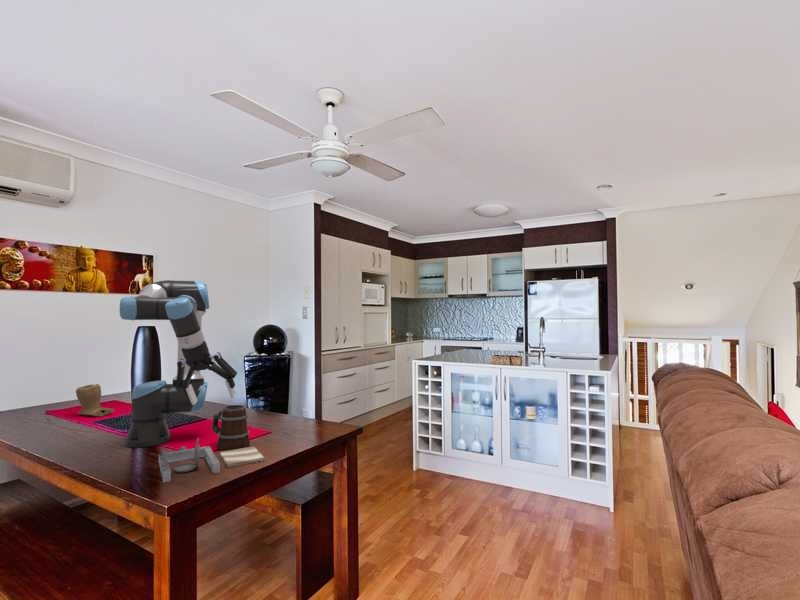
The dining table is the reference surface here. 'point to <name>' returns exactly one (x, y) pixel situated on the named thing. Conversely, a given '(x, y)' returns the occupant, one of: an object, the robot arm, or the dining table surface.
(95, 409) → the tan upright piece
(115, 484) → the dining table surface
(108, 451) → the dining table surface
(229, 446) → the mug
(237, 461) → the ash board
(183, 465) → the pocket watch
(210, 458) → the u-shaped metal frame
